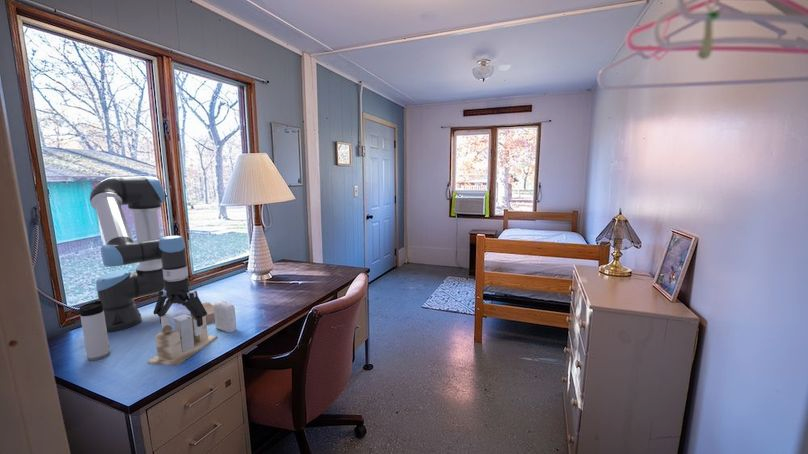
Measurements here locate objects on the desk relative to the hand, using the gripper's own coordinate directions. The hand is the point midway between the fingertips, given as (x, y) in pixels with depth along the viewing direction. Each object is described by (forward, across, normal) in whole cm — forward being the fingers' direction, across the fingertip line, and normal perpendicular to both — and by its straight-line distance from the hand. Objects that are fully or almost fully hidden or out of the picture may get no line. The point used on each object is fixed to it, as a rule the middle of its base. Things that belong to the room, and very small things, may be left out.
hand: (182, 333), depth 127 cm
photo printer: (+7, +4, +18) cm, 19 cm away
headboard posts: (+6, 0, 0) cm, 7 cm away
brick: (+8, -12, +28) cm, 32 cm away
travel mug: (+7, -28, -8) cm, 30 cm away
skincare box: (+6, +1, 0) cm, 6 cm away
